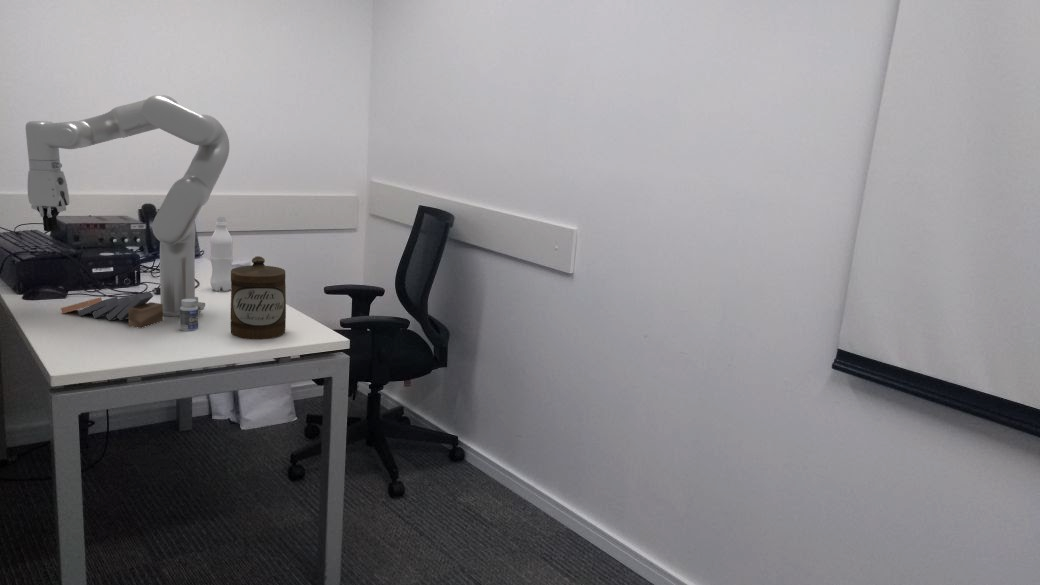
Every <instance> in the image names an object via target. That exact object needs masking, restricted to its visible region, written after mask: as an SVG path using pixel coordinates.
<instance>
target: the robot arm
mask: <svg viewBox="0 0 1040 585" xmlns="http://www.w3.org/2000/svg"><path fill="white" fill-rule="evenodd" d="M159 129H160V130H162V131H163V132H166V133H167V134H170V135H172V136H174V137H177V138H178V139H181V140H183V141H184V142H187V143H190V144H192V145H194V146H198V147H197V148H198V149H197V151H196V153H195V154H194V156H193V158H192V160H191V162H190V164H189V166H188V168H187V170H186V172H185V173H184V174H183V176H182V177H181V178H180V179H178V180H176V181H175V182H174V183H173V184H172V186H170V189H168V190H169V191H168V192H167V194H166V195H165V197H164V199H163V201H162V204H161V206H160V207H159V209H158V210H157V213H156V215H155V217H154V219H153V221H152V225H151V226H152V227H151V228H152V234H153V236H154V237H155V239H157V240H158V241H159V283H160V284H159V285H160V286H159V287H160V288H159V289H160V291H159V292H160V304H163V317H165V316H166V317H180V307H181V306H182V305H181V300H183V299H196V300H197V305H196V306H197V307H198V314H199V313H200V312H201V311H203V310H204V309H205V307H206V302H201V301H200V302H199V296H196V282H195V281H196V278H195V277H196V275H195V273H196V272H195V267H196V266H195V261H196V260H195V256H196V255H195V249H196V248H195V247H196V233H197V232H196V231H197V230H196V228H197V227H196V221H195V220H196V218H197V216H198V215H199V213H200V211H201V209H202V207H203V206H204V205H206V203H208V200H209V199H210V197H211V194H212V191H213V189H214V187H215V186H216V184H217V182H218V180H219V178H220V176H221V174H222V172H223V170H224V168H225V166H226V163H227V161H228V159H229V158H228V157H229V154H230V138H229V136H228V133H227V131H226V129H225V127H224V126H223V125H222V124H221V122H220V121H219V120H218V119H217V118H215V117H213V116H211V115H208V114H199V113H197V112H195V111H194V110H191V109H189V108H187V107H185V106H183V105H180V104H179V103H178V102H177V100H175V99H174V98H173V97H171V96H169V95H164V94H163V95H162V94H156V95H152V96H149V97H148V98H146V99H142V100H138V101H136V102H132V103H131V102H130V103H127V104H122V105H118V106H116V107H114V108H111V110H110V111H107V112H105V113H102V114H100V115H96V116H92V117H89V118H84V119H80V120H77V121H76V120H73V121H61V122H54V121H53V122H52V121H47V120H44V121H43V120H41V121H40V120H32V121H27V122H26V124H25V135H26V136H25V137H26V145H27V146H26V147H27V156H28V157H27V159H28V169H29V170H28V173H27V198H28V203H29V204H31V209H32V210H34V211H35V210H36V211H37V212H39V215H40V218H42V224H43V225H42V226H43V231H44V232H56V231H58V220H57V217H59V214H60V213H61V212H65V211H67V207H66V206H69V204H70V196H69V189H68V184H67V178H66V176H65V173H64V171H63V170H62V169H61V168H62V167H63V164H62V163H61V160H60V159H61V158H60V149H65V150H76V149H82V148H88V147H91V146H94V145H98V144H101V143H105V142H110V141H113V140H117V139H122V138H123V139H124V138H129V137H133V136H135V135H140V134H142V133H147V132H150V131H153V130H159Z"/></svg>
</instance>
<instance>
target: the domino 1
mask: <svg viewBox="0 0 1040 585" xmlns="http://www.w3.org/2000/svg"><path fill="white" fill-rule="evenodd" d="M101 301H103V298H102V297H101V296H100V297H96V298H92V299H89V300H86V301H82V302H79V303H74V304H71V305H67V306H64V307H63V306H62V307H60V311H61V314H66V313H71V312H73V311H76V310H81V309H84V308H86V307H89V306H91V305H93V304H96V303H98V302H101Z"/></svg>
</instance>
